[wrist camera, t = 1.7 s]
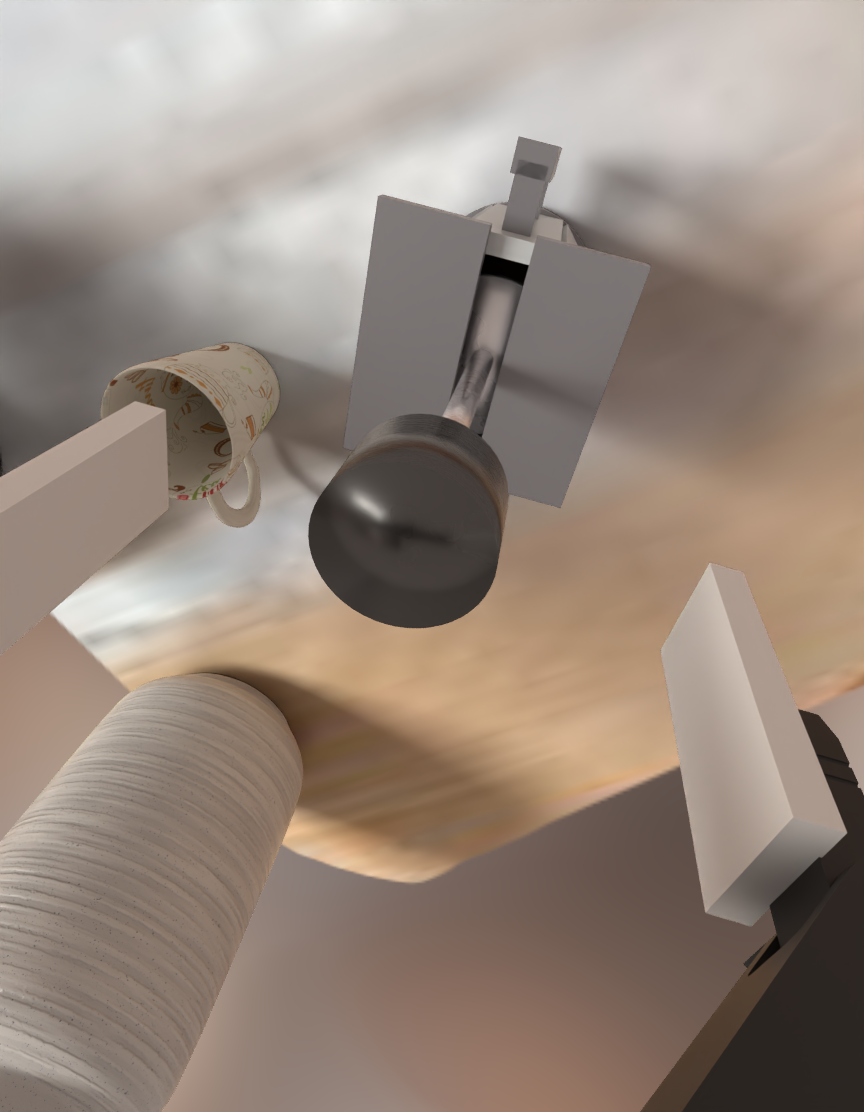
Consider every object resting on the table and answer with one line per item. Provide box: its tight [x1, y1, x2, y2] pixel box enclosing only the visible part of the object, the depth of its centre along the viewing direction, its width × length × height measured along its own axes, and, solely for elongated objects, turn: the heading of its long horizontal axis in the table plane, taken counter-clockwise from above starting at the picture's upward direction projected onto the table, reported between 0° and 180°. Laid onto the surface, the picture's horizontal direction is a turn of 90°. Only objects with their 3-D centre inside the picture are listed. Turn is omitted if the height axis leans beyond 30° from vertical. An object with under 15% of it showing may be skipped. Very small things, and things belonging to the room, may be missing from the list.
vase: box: [0, 673, 303, 1112], centre depth 52 cm, size 20×20×34 cm
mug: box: [101, 343, 280, 528], centre depth 42 cm, size 8×13×10 cm, turn 15°
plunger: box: [308, 273, 524, 628], centre depth 21 cm, size 7×7×17 cm
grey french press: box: [343, 137, 651, 508], centre depth 32 cm, size 11×14×15 cm
